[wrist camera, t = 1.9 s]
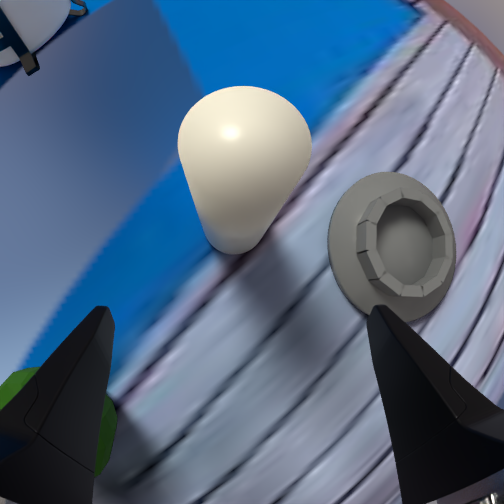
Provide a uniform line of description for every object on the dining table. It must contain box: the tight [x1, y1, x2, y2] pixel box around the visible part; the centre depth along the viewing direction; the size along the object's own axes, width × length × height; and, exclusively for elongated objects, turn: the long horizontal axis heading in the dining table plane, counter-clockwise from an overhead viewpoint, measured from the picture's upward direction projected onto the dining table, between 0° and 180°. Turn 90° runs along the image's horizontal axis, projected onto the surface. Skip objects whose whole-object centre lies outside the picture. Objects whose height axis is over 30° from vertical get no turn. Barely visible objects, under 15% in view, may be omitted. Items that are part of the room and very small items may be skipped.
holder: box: [327, 172, 456, 322], centre depth 22 cm, size 12×12×3 cm
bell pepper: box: [0, 367, 117, 478], centre depth 15 cm, size 8×8×10 cm
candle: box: [178, 86, 312, 254], centre depth 16 cm, size 4×4×13 cm
